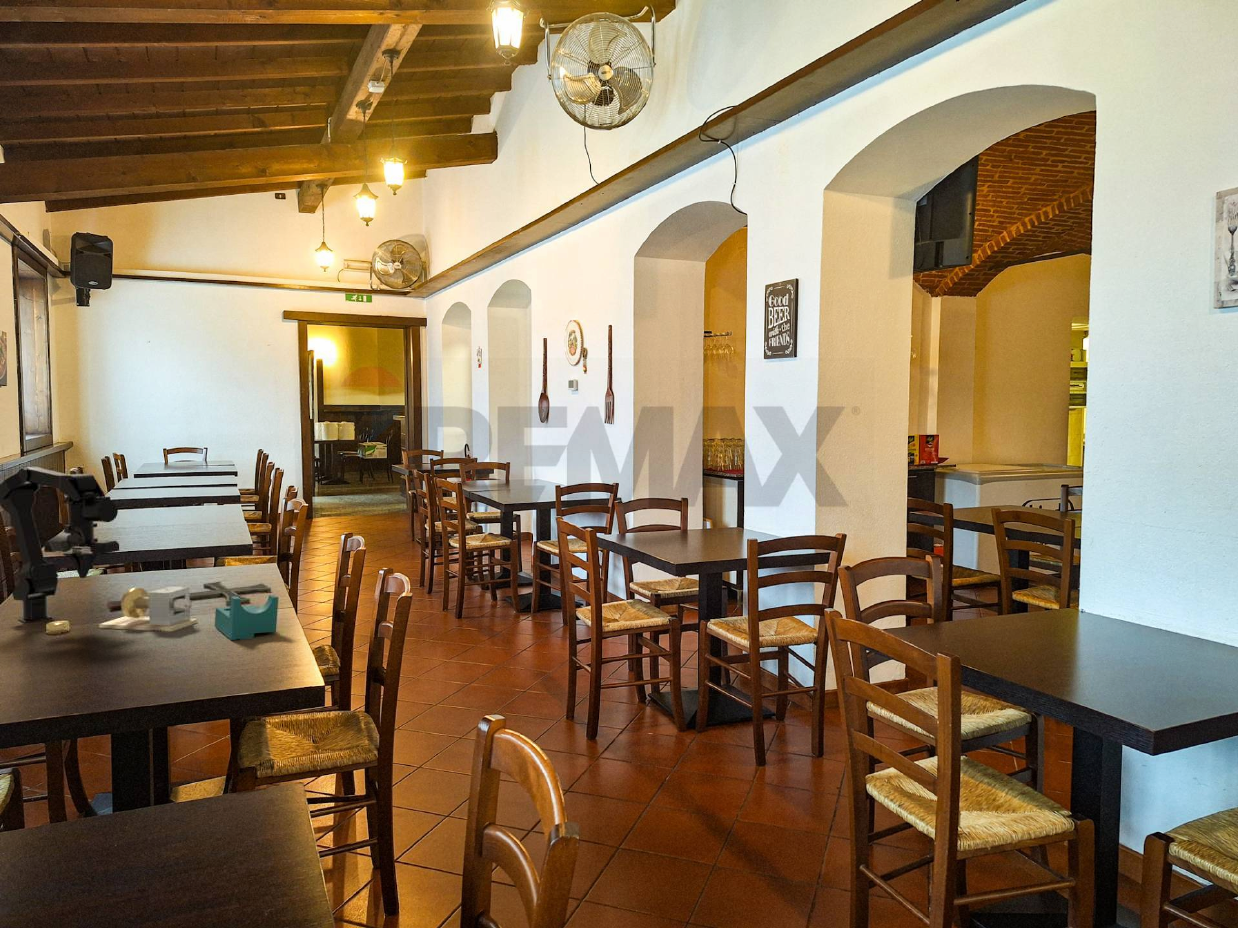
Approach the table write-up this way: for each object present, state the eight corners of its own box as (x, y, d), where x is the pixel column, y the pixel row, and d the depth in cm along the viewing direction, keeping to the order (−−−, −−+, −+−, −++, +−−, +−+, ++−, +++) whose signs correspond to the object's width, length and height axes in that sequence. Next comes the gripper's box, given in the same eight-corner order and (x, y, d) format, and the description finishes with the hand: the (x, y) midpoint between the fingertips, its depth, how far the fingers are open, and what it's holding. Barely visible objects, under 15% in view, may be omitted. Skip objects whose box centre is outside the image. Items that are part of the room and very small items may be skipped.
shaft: (121, 620, 225) (120, 591, 225) (143, 613, 233) (142, 585, 233) (177, 623, 222) (177, 593, 222) (198, 616, 230) (197, 587, 230)
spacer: (43, 632, 221) (43, 623, 221) (65, 628, 225) (64, 619, 225) (50, 635, 218) (50, 626, 218) (72, 631, 222) (71, 622, 222)
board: (99, 627, 226) (99, 624, 226) (127, 618, 235) (127, 615, 235) (172, 631, 222) (171, 627, 222) (197, 622, 231) (197, 618, 231)
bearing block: (149, 625, 224) (148, 592, 223) (170, 618, 232) (169, 586, 231) (169, 626, 223) (168, 593, 222) (190, 619, 231) (189, 587, 230)
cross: (101, 594, 262) (253, 577, 290) (101, 600, 262) (253, 582, 290) (116, 615, 234) (283, 594, 262) (116, 621, 235) (283, 600, 262)
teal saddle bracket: (275, 637, 219) (278, 597, 219) (231, 639, 212) (234, 598, 212) (256, 623, 233) (259, 586, 233) (214, 625, 226) (217, 587, 226)
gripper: (25, 523, 221) (27, 582, 222) (87, 525, 217) (89, 584, 218) (60, 518, 232) (62, 574, 232) (119, 520, 228) (121, 576, 229)
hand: (82, 577), depth 228 cm, fingers closed
